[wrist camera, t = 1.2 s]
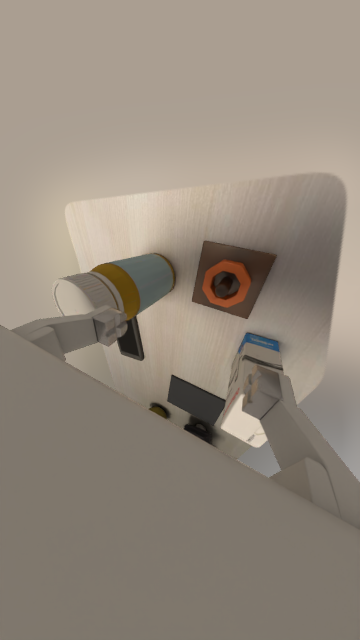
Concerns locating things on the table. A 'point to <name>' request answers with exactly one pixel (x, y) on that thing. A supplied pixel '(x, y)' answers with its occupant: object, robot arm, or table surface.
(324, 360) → the table surface
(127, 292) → the bottle
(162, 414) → the apple
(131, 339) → the cell phone
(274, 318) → the table surface
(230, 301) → the ring
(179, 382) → the mat
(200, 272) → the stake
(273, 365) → the ink box
